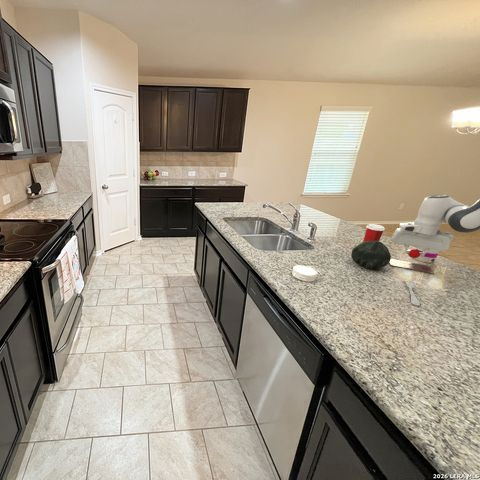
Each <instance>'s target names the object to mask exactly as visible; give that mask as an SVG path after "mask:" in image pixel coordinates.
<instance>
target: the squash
mask: <svg viewBox="0 0 480 480" xmlns="http://www.w3.org/2000/svg"><path fill="white" fill-rule="evenodd" d="M350 256H351V259H352V260H353V262H355V263H356V264H357V265H360V266H362V267H363V266H364V267H365V268H366V269H368V270H379V269H382V268H384V267H386V266H387V265H389V264H390V263H389V262H390V259H392V254H391V253H390V250H389V248H388V247H387V246H386V245H385V244H384V243H383V242H381V241H380V240H379V241H365V242H363V241H362V242H360V243H359V244H358V245H356V246H354V247H353V249H352V250H351V254H350Z"/></svg>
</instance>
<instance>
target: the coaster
mask: <svg viewBox="0 0 480 480" xmlns="http://www.w3.org/2000/svg"><path fill="white" fill-rule="evenodd" d="M291 275H292V276H293V277H294V278H295V279H296V280H299V281H303V282H310V283H311V282H314V281H316V280H317V276H318V272H317V270H315V268H313V267H310V266H307V265H301V264H299V265H294V266H293V267H292V270H291Z"/></svg>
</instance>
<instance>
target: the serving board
mask: <svg viewBox="0 0 480 480" xmlns="http://www.w3.org/2000/svg"><path fill="white" fill-rule="evenodd" d="M388 264H389V265H390V266H391V267H395V268H400V269H404V270H409V271H416V272H420V273H424V274H430V275H435V273H434V271H433V269H431V267H430V266H429V265H426V264H421V263H416V262H413V261H412V262H411V261H405V260H400V259H397V258H396V259H395V258H391V259H390V262H389V263H388Z"/></svg>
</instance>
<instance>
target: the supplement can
mask: <svg viewBox="0 0 480 480" xmlns="http://www.w3.org/2000/svg"><path fill="white" fill-rule="evenodd" d="M415 249H416V250H418V251H420V252H423V251H425V248H421V247H416V248H415ZM439 253H440V251H439V250H433V249H430V251H429V252H427V253H426V254H425V255H424V257H423V256H419V257H418V258H414V260H416V261H419V262H422V263H426V264H432V263H435V262H436V260H437V258H438V255H439Z"/></svg>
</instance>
